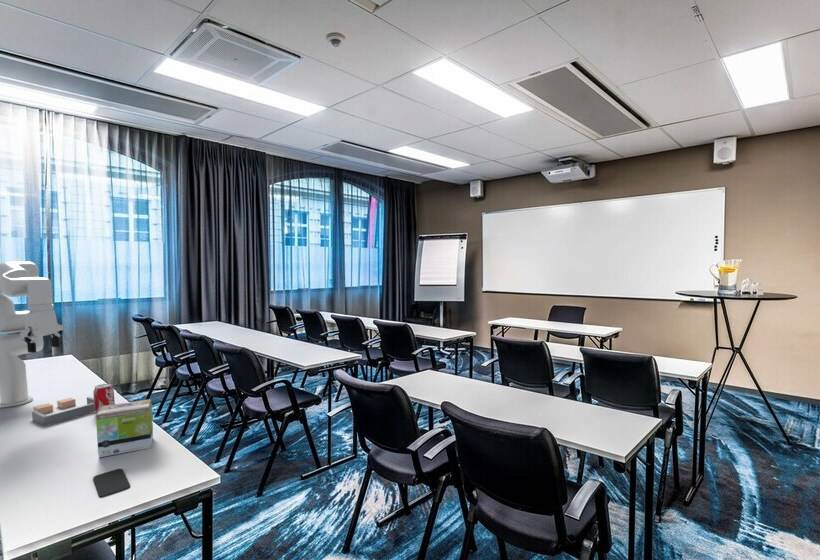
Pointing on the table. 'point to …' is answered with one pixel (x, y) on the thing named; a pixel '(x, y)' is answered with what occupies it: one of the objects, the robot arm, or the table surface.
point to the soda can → (103, 396)
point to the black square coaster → (111, 482)
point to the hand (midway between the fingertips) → (44, 349)
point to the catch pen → (64, 413)
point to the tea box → (124, 427)
